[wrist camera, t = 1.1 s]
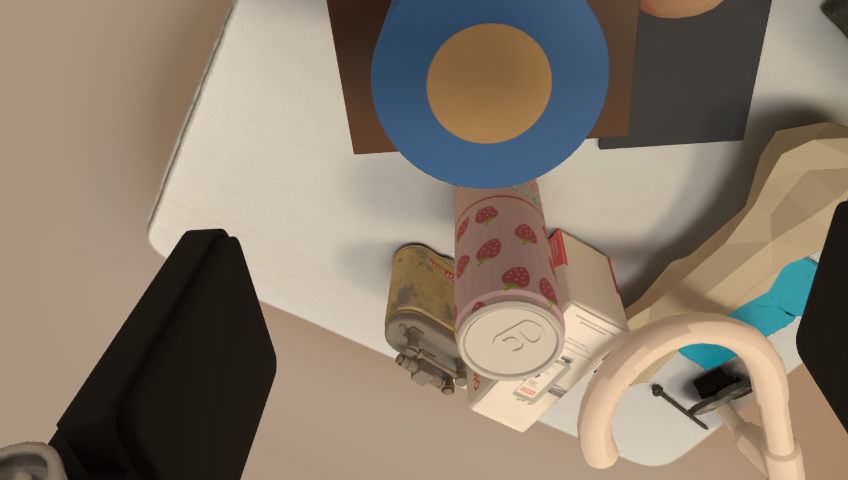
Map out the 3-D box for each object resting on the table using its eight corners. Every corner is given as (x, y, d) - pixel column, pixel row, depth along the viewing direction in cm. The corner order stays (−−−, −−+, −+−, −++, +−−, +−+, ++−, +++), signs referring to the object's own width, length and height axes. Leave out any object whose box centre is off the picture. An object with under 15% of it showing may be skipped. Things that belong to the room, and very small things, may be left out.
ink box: (610, 255, 46) (517, 352, 52) (555, 224, 45) (467, 327, 51) (634, 335, 39) (523, 437, 45) (570, 301, 38) (465, 410, 44)
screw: (661, 390, 52) (657, 381, 53) (651, 396, 53) (648, 387, 54) (714, 431, 56) (710, 422, 56) (704, 436, 56) (700, 427, 57)
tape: (373, -60, 19) (352, -28, 15) (587, -82, 18) (619, -53, 15) (398, 132, 23) (387, 196, 19) (578, 119, 22) (602, 183, 18)
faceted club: (917, 150, 39) (641, 372, 53) (807, 70, 39) (560, 314, 53) (979, 210, 32) (640, 450, 45) (844, 111, 31) (545, 382, 45)
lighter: (383, 264, 47) (367, 360, 39) (414, 232, 46) (404, 326, 37) (456, 311, 50) (455, 411, 41) (488, 282, 48) (493, 381, 40)
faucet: (592, 513, 55) (502, 325, 43) (735, 422, 56) (687, 214, 44) (652, 600, 48) (565, 404, 36) (815, 493, 49) (785, 268, 37)
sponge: (723, 373, 52) (668, 341, 51) (844, 276, 46) (784, 238, 45) (729, 386, 51) (672, 354, 50) (854, 289, 45) (792, 250, 44)
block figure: (690, 390, 56) (748, 360, 53) (705, 415, 55) (765, 385, 52) (668, 388, 51) (730, 355, 49) (683, 415, 50) (748, 382, 48)
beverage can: (553, 175, 42) (591, 326, 30) (512, 237, 45) (532, 398, 33) (478, 142, 41) (485, 285, 29) (441, 208, 44) (434, 363, 32)
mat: (607, 6, 36) (609, 8, 36) (770, -9, 35) (773, -7, 35) (598, 147, 41) (599, 149, 41) (740, 137, 40) (743, 140, 40)
